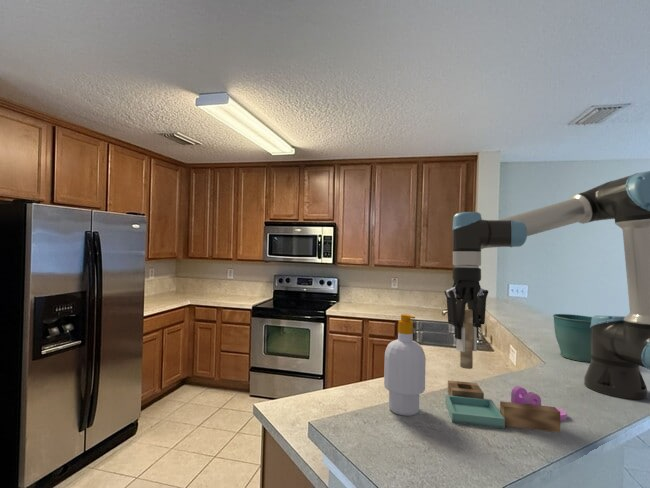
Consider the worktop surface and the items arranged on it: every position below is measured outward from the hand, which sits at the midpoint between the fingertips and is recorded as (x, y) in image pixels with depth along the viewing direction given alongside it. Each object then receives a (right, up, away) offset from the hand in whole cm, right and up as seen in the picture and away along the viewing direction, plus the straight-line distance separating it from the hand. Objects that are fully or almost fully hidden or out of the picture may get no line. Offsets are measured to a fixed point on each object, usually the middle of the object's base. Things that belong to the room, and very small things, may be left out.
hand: (466, 350), depth 98 cm
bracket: (+15, -14, -10) cm, 23 cm away
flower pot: (+66, -18, +47) cm, 83 cm away
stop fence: (+9, -13, -16) cm, 22 cm away
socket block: (-1, -14, -1) cm, 14 cm away
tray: (-3, -13, -11) cm, 17 cm away
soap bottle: (-20, -13, -9) cm, 25 cm away
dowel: (0, -5, 0) cm, 5 cm away
